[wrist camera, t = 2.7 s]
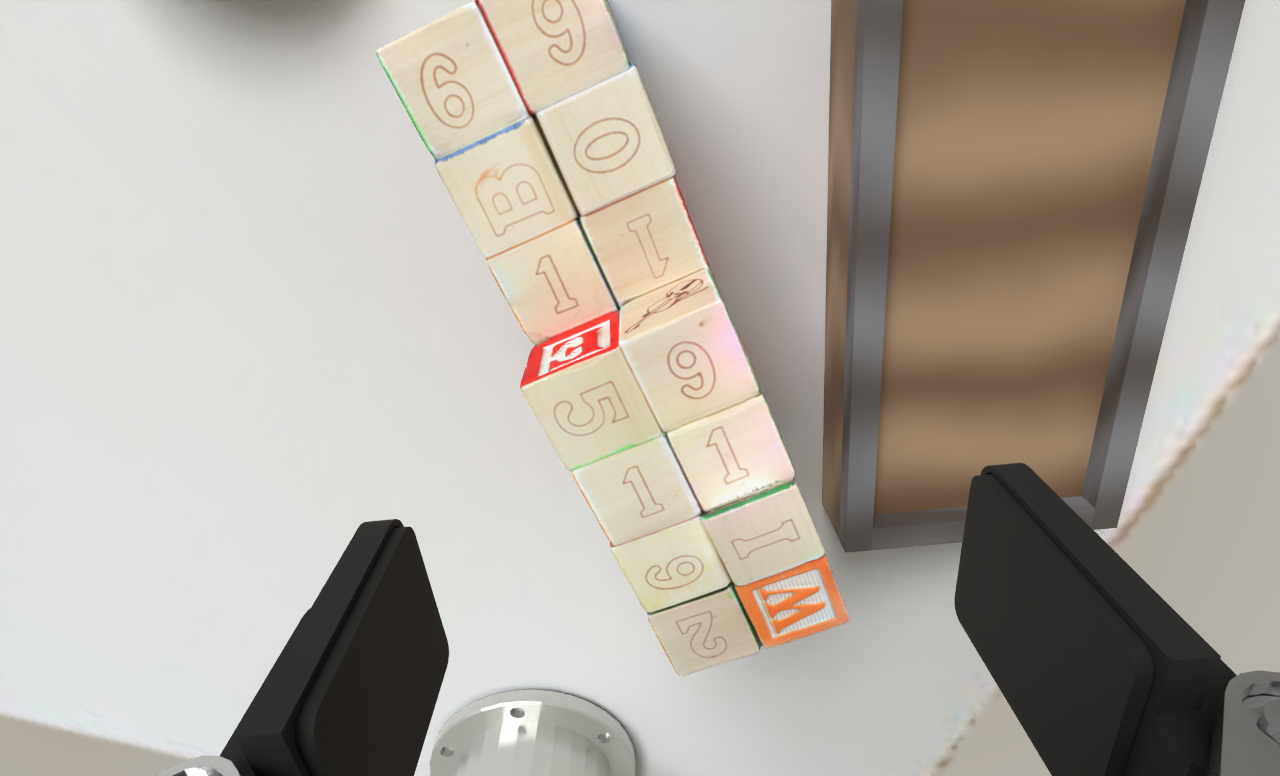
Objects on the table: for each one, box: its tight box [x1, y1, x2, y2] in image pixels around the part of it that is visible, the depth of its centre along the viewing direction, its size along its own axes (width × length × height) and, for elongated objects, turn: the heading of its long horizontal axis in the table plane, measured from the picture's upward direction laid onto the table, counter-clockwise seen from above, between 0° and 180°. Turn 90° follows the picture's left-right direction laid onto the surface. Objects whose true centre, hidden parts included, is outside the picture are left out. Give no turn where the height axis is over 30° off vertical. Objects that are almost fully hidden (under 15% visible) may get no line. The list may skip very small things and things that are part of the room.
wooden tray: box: [822, 0, 1245, 552], centre depth 27 cm, size 27×12×4 cm, turn 6°
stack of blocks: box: [376, 0, 851, 676], centre depth 24 cm, size 21×6×12 cm, turn 23°
